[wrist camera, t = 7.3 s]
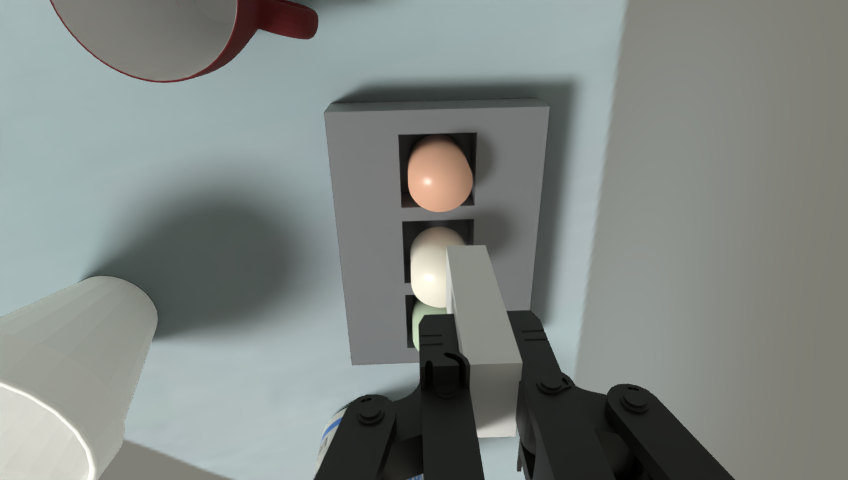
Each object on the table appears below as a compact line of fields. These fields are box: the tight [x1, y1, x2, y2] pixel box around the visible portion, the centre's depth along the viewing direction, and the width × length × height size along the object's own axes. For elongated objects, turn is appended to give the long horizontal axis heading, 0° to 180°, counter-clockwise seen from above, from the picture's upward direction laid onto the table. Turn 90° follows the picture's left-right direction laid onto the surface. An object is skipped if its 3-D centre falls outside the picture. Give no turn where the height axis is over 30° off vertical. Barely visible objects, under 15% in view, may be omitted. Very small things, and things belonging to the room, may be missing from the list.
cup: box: [0, 276, 158, 480], centre depth 32 cm, size 12×12×14 cm
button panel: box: [324, 98, 550, 365], centre depth 35 cm, size 20×14×3 cm
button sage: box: [412, 296, 447, 351], centre depth 36 cm, size 4×4×4 cm
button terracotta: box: [408, 134, 473, 212], centre depth 31 cm, size 4×4×4 cm
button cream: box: [410, 227, 466, 308], centre depth 32 cm, size 4×4×4 cm
